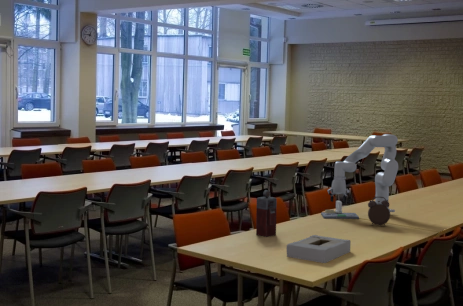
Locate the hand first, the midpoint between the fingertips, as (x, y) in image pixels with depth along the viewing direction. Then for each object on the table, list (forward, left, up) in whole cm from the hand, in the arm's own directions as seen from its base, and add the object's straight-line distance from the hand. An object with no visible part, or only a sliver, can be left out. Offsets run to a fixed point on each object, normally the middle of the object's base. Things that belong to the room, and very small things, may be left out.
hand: (338, 201), depth 454 cm
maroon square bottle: (+54, +72, -10) cm, 91 cm away
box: (+28, +119, -11) cm, 123 cm away
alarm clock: (-22, +38, -11) cm, 45 cm away
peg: (+3, +1, -8) cm, 9 cm away
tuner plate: (-1, +5, -10) cm, 11 cm away
